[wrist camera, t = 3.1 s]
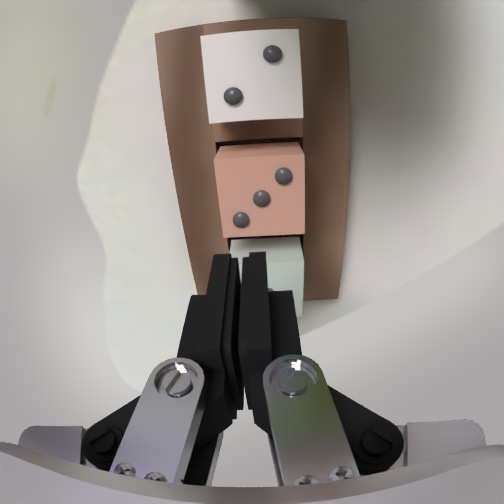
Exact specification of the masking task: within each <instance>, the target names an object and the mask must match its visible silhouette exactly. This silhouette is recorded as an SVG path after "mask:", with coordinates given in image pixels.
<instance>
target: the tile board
mask: <svg viewBox="0 0 504 504" xmlns="http://www.w3.org/2000/svg"><path fill="white" fill-rule="evenodd" d="M271 29H298V30H299V44H300V58H301V75H302V95H303V118H284V119H262V120H246V121H233V122H222V123H212V124H209V117H208V108H207V99H206V89H205V80H204V70H203V60H202V49H201V38H200V36H204V35H212V34H220V33H229V32H239V31H252V30H271ZM155 42H156V53H157V62H158V71H159V80H160V88H161V96H162V103H163V111H164V118H165V125H166V131H167V138H168V145H169V151H170V157H171V163H172V169H173V175H174V181H175V186H176V192H177V197H178V203H179V208H180V213H181V218H182V223H183V229H184V233H185V238H186V243H187V248H188V253H189V257H190V262H191V267H192V271H193V276H194V280H195V284H196V289H197V293H198V295H206V291H207V286H208V280H209V275H210V270H211V265H212V260H213V256H214V254H228V253H229V252H230V246H231V237H229V238H224V237H223V230H222V223H221V215H220V208H219V200H218V192H217V184H216V176H215V168H214V158H215V156H216V154H217V152H218V150H219V149H220V147H221V146H220V142H222V141H234V140H248V139H264V138H287V137H299V145H300V147H301V149H302V151H303V153H304V157H305V234H300V243H301V248H302V253H303V258H304V285H303V301H307V300H323V299H338V294H339V286H340V277H341V268H342V259H343V249H344V238H345V226H346V213H347V198H348V180H349V153H350V80H349V55H348V38H347V24H346V20H336V19H319V18H267V19H249V20H237V21H227V22H218V23H210V24H203V25H197V26H191V27H185V28H179V29H174V30H169V31H164V32H160V33H155Z"/></svg>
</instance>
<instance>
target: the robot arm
mask: <svg viewBox="0 0 504 504" xmlns="http://www.w3.org/2000/svg"><path fill="white" fill-rule="evenodd" d="M244 388H245V393H246V398H247V404H248V409H249V410H253V416H254V423H255V424H256V425H257V426H258V427H260V428H261V429H262V430H264V431H265V432H266V433H267V434H268V439H269V445H270V449H271V454H272V459H273V464H274V468H275V473H276V477H277V482H278V487H247V488H246V487H212V486H211V484H212V480H213V476H214V472H215V468H216V464H217V460H218V456H219V452H220V448H221V444H222V439H223V431H224V430H225V429H226V428H228V427H229V426H230V425H231V424H232V420H233V419H236V418H237V410H243V405H244ZM0 504H504V445H487V446H486V443H485V435H484V432H483V429H482V428H481V427H480V425H479V424H478V423H476V422H474V421H472V420H465V419H464V420H453V421H439V422H418V423H407V424H406V425H405V426H396V425H394V424H393V423H391V422H390V421H388V420H386V419H385V418H383V417H381V416H379V415H377V414H376V413H374V412H372V411H371V410H369V409H367V408H365V407H364V406H362V405H360V404H358V403H357V402H355V401H353V400H352V399H350V398H348V397H347V396H345V395H343V394H341V393H340V392H338V391H337V390H335V389H333V388H332V387H330V386H328V385H327V383H326V380H325V377H324V375H323V372H322V370H321V368H320V367H319V365H318V364H317V363H316V362H315V361H313V360H312V359H310V358H308V357H306V356H302V352H301V345H300V337H299V330H298V324H297V317H296V310H295V303H294V297H293V291H292V290H284V291H268V279H267V262H266V251H262V252H249V257H243V260H242V278H241V279H240V271H239V262H238V257H236V258H232V256H231V253H228V254H214V256H213V260H212V265H211V270H210V275H209V280H208V286H207V291H206V295H192V296H191V298H190V302H189V306H188V310H187V314H186V318H185V323H184V327H183V331H182V336H181V340H180V344H179V349H178V353H177V358H173V359H168V360H166V361H164V362H162V363H160V364H159V365H158V366H157V367H155V368H154V370H153V371H152V373H151V374H150V376H149V378H148V381H147V383H146V385H145V387H144V390H143V392H142V394H141V395H140V396H138V397H137V398H135V399H134V400H132V401H131V402H129V403H128V404H126V405H124V406H123V407H121V408H120V409H118V410H116V411H115V412H113V413H112V414H110V415H109V416H107V417H105V418H104V419H102V420H100V421H99V422H97V423H95V424H94V425H93V426H91V427H90V428H89V429H84V428H83V427H82V426H31V427H28V428H27V429H25V430H24V431H23V433H22V434H21V436H20V439H19V443H18V445H16V444H11V443H6V442H0Z"/></svg>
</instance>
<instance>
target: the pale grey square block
mask: <svg viewBox="0 0 504 504" xmlns="http://www.w3.org/2000/svg"><path fill="white" fill-rule="evenodd" d="M262 251H266V262H267V279H268V291H284V290H292V291H293V297H294V303H295V310H296V317H302V311H303V285H304V258H303V253H302V248H301V243H300V238H299V237H280V238H259V239H239V240H231V246H230V252H229V253H231V256H232V258H236V257H238V262H239V271H240V279H241V278H242V260H243V257H249V252H262Z"/></svg>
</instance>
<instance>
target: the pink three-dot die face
mask: <svg viewBox="0 0 504 504" xmlns="http://www.w3.org/2000/svg"><path fill="white" fill-rule="evenodd" d="M214 168H215V176H216V184H217V192H218V200H219V208H220V215H221V223H222V230H223V237H224V238H229V237H248V236H269V235H290V234H305V157H304V153H303V151H302V149H301V147H300V145H299V143H298V142H282V143H261V144H245V145H232V146H221V147H220V149H219V150H218V152H217V154H216V156H215V158H214Z"/></svg>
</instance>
